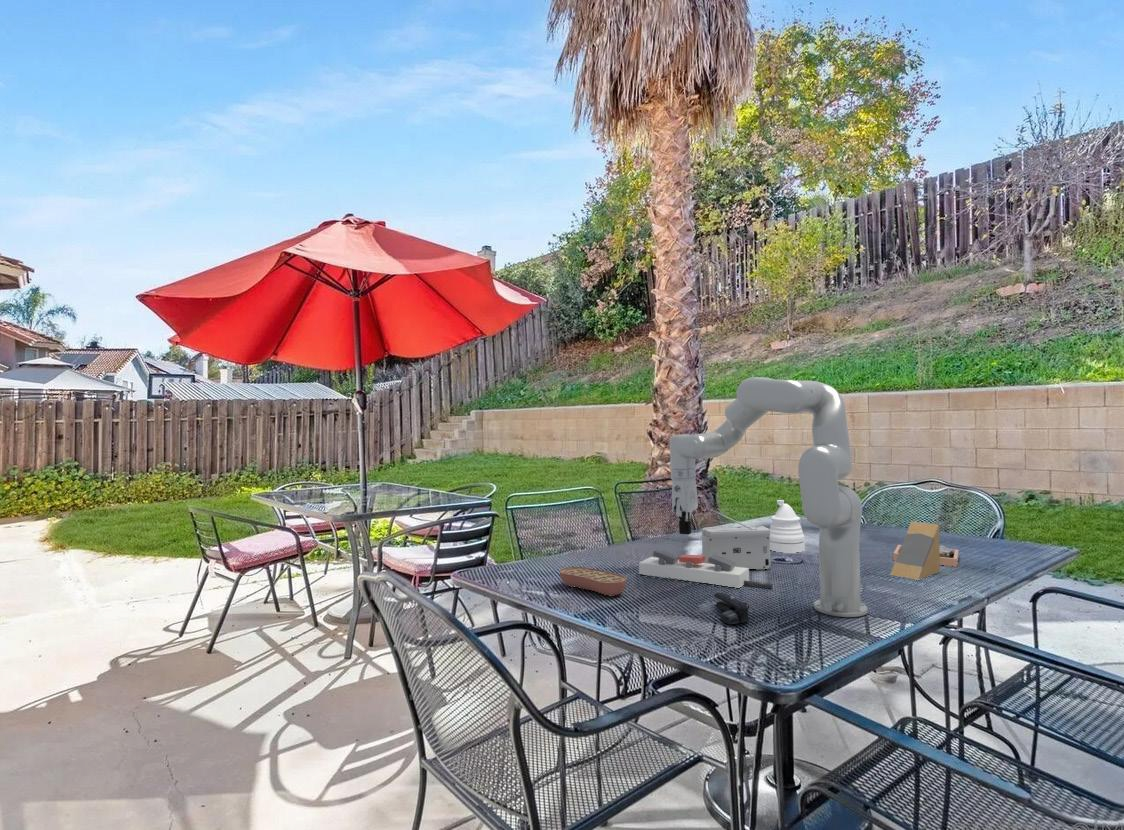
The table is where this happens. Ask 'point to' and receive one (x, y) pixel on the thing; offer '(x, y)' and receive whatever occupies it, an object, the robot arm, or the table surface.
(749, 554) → the stereo radio cassette player
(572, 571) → the brown long rounded block
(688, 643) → the table surface
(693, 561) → the rocker red
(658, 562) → the power strip
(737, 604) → the can opener
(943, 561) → the tan wooden tray
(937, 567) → the sandwich container
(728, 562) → the rocker near
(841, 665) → the table surface
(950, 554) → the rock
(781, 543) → the honey pot
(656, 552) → the rocker far
